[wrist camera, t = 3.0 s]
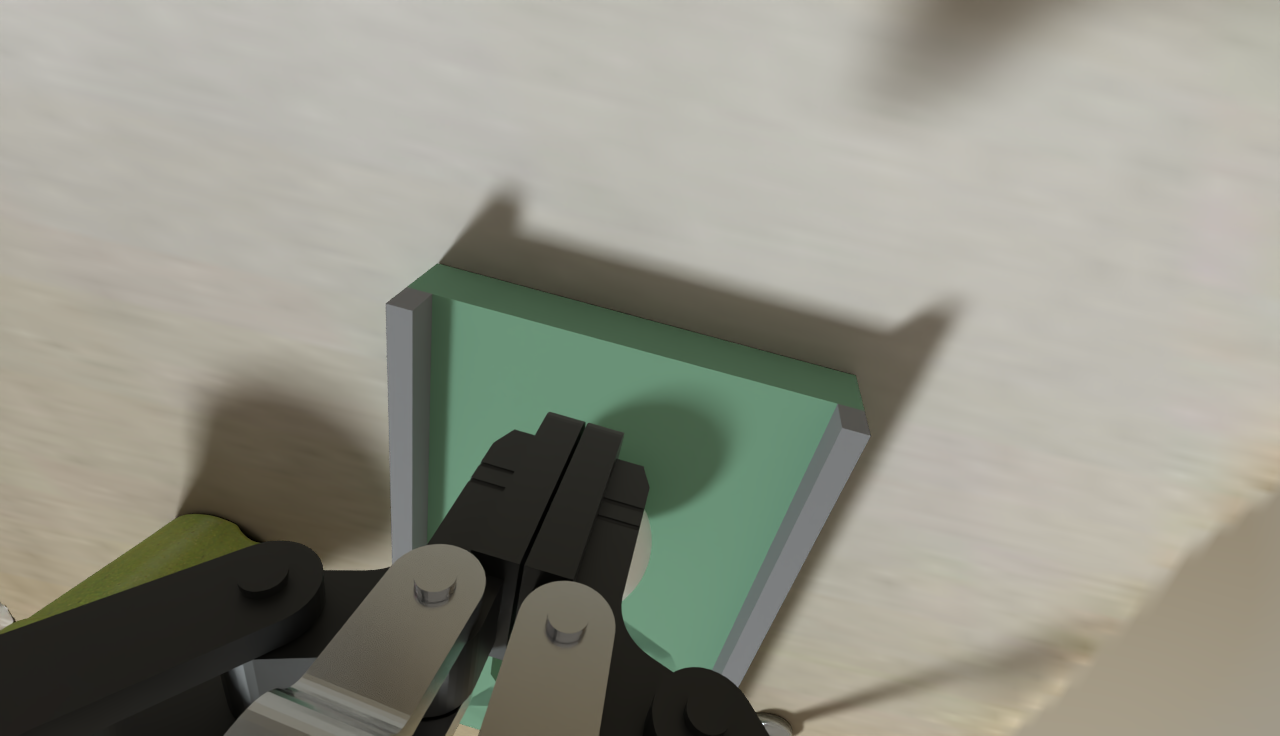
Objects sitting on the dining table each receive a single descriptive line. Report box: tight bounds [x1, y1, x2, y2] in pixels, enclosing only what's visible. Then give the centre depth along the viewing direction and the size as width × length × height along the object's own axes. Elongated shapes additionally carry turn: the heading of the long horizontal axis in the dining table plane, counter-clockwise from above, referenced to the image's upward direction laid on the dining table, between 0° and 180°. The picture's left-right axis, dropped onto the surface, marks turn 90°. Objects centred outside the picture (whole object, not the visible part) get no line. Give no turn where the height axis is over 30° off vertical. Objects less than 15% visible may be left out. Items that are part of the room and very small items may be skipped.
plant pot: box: [0, 514, 259, 634], centre depth 27 cm, size 9×9×9 cm
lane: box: [386, 263, 871, 730], centre depth 25 cm, size 24×14×3 cm, turn 168°
